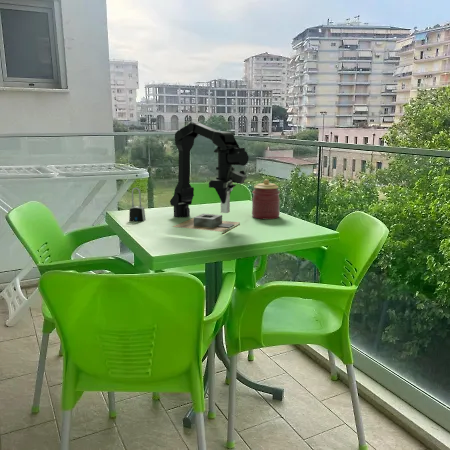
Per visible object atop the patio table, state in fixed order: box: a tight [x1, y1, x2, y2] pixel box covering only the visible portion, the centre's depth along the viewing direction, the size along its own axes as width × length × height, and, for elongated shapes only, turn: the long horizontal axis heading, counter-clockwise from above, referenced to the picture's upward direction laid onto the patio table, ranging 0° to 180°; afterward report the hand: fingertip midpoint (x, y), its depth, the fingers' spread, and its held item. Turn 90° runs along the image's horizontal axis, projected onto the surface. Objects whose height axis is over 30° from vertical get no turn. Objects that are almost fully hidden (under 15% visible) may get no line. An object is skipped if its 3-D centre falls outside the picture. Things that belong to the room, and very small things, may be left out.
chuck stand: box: [172, 213, 241, 235], centre depth 175 cm, size 23×18×4 cm
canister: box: [251, 179, 281, 220], centre depth 193 cm, size 13×13×18 cm
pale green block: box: [220, 187, 234, 214], centre depth 170 cm, size 6×3×10 cm, turn 67°
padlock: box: [128, 187, 147, 222], centre depth 187 cm, size 7×4×15 cm, turn 86°
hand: (225, 202), depth 170 cm, fingers closed on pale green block, 3 cm apart
